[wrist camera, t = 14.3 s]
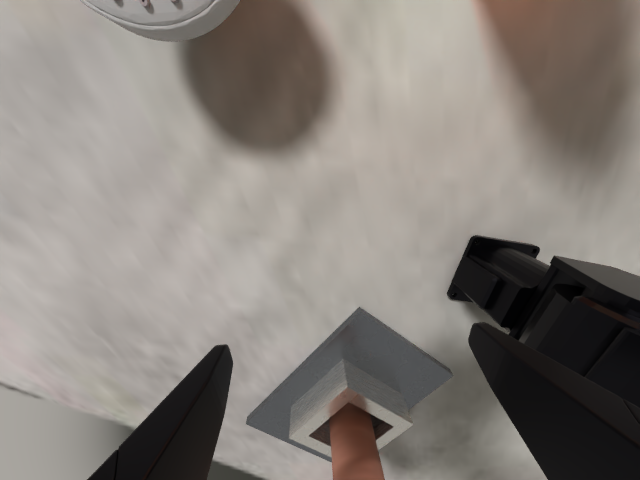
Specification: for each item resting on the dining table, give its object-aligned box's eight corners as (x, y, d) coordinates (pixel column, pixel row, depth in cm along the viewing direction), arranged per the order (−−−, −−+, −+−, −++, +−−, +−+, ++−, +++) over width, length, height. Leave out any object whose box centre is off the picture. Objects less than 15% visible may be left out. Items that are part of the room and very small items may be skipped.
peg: (360, 382, 26) (403, 581, 14) (370, 407, 28) (416, 606, 16) (322, 392, 27) (333, 595, 15) (334, 417, 28) (352, 618, 16)
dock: (359, 306, 24) (368, 336, 20) (449, 369, 27) (471, 404, 24) (247, 416, 29) (238, 456, 25) (335, 457, 32) (339, 497, 29)
